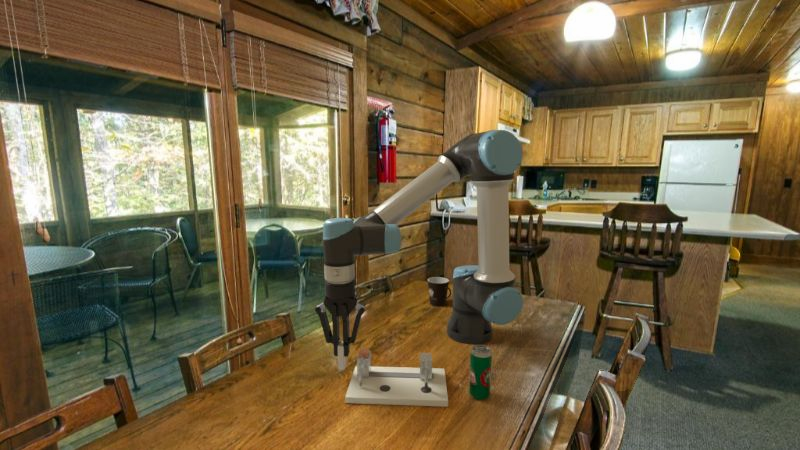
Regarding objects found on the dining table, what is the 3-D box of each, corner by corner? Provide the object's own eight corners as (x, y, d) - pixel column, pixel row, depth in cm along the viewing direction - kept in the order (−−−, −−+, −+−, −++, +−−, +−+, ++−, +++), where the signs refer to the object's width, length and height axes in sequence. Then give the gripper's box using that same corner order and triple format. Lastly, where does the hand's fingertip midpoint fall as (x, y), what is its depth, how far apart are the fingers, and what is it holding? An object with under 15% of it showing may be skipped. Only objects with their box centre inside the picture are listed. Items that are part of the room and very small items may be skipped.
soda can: (467, 388, 93) (468, 343, 91) (487, 389, 93) (489, 343, 91) (470, 401, 88) (472, 353, 86) (492, 401, 88) (494, 354, 86)
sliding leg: (370, 368, 98) (370, 348, 97) (366, 387, 90) (366, 364, 89) (359, 368, 98) (359, 347, 98) (354, 386, 90) (353, 364, 89)
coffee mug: (425, 300, 155) (425, 277, 154) (445, 299, 156) (446, 276, 155) (430, 310, 144) (431, 286, 142) (452, 310, 145) (453, 285, 143)
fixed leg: (431, 371, 97) (431, 351, 97) (432, 390, 89) (432, 368, 88) (420, 370, 98) (420, 350, 97) (419, 389, 89) (420, 368, 88)
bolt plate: (444, 373, 100) (444, 367, 99) (448, 406, 86) (448, 399, 85) (355, 371, 101) (355, 365, 101) (345, 403, 87) (345, 396, 87)
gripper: (309, 284, 90) (313, 374, 93) (363, 284, 89) (364, 375, 93) (318, 275, 97) (321, 359, 101) (367, 275, 96) (369, 360, 100)
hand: (342, 367), depth 97 cm, fingers closed
